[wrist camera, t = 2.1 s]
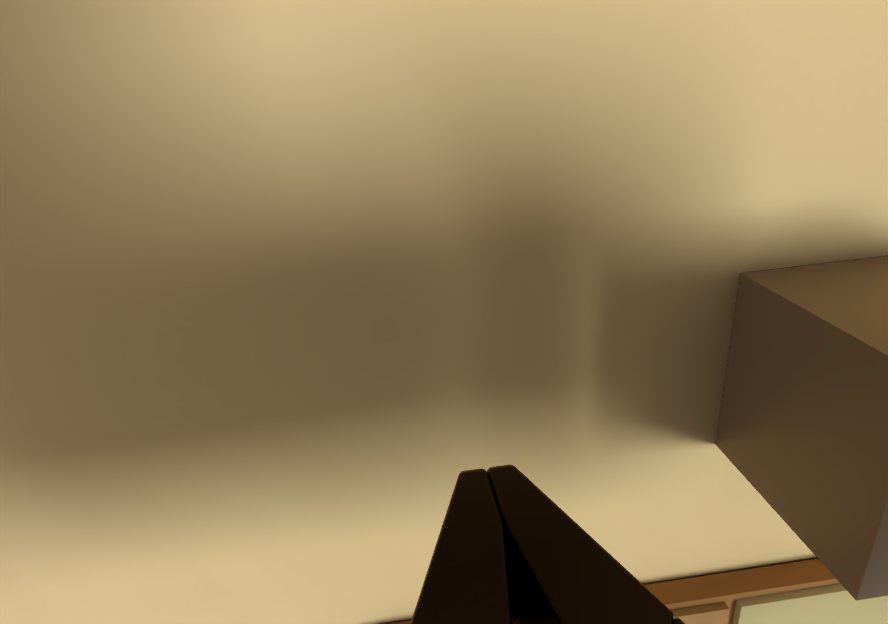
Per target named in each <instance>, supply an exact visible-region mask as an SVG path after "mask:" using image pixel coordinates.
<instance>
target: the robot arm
mask: <svg viewBox="0 0 888 624" xmlns="http://www.w3.org/2000/svg"><path fill="white" fill-rule="evenodd" d="M411 624H685V623H684V622H683V621H682V620H681V619H680V618H674V614H673V612H672V611H671V610H670V609H669V608H667V607H666V606H665V605H664V604H663V603H662V602H661V601H660V600H659V599H658V598H657V597H656V596H654V595H653V594H652V593H651V592H650V591H649V590H648V589H647V588H646V587H645V586H644V585H643V584H641V583H640V582H639V581H638V580H637V579H636V578H635V577H634V576H633V575H632V574H631V573H630V572H629V571H627V570H626V569H625V568H624V567H623V566H622V565H621V564H620V563H619V562H618V561H617V560H616V559H614V558H613V557H612V556H611V555H610V554H609V553H608V552H607V551H606V550H605V549H604V548H603V547H601V546H600V545H599V544H598V543H597V542H596V541H595V540H594V539H593V538H592V537H591V536H590V535H588V534H587V533H586V532H585V531H584V530H583V529H582V528H581V527H580V526H579V525H578V524H577V523H575V522H574V521H573V520H572V519H571V518H570V517H569V516H568V515H567V514H566V513H565V512H564V511H562V510H561V509H560V508H559V507H558V506H557V505H556V504H555V503H554V502H553V501H552V500H551V499H549V498H548V497H547V496H546V495H545V494H544V493H543V492H542V491H541V490H540V489H539V488H538V487H536V486H535V485H534V484H533V483H532V482H531V481H530V480H529V479H528V478H527V477H526V476H525V475H523V474H522V473H521V472H520V471H519V470H518V469H517V468H516V467H515V466H513V465H504V466H496V467H490V468H489V469H488V471H487V472H486V470H485V469H475V470H467V471H462V472H461V473H460V474H459V476H458V479H457V482H456V485H455V488H454V491H453V494H452V497H451V501H450V504H449V507H448V510H447V513H446V516H445V519H444V522H443V525H442V528H441V531H440V534H439V537H438V541H437V544H436V547H435V550H434V553H433V556H432V559H431V562H430V565H429V568H428V571H427V574H426V577H425V581H424V584H423V587H422V590H421V593H420V596H419V599H418V602H417V605H416V608H415V611H414V614H413V617H412V621H411Z"/></svg>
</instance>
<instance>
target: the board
mask: <svg viewBox="0 0 888 624" xmlns="http://www.w3.org/2000/svg"><path fill="white" fill-rule="evenodd" d="M644 586H645V587H646V588H647V589H648V590H649V591H650V592H651V593H652V594H653V595H654V596H656V597H657V598H658V599H659V600H660V601H661V602H662V603H663V604H664V605H665V606H666V607H667V608H669V609H670V610H671V611H672V612H673V614H674V618H680V619H681V620H682V621H683V622H684V623H685V624H888V596H882V597H876V598H870V599H863V600H857V601H856V600H855V599H854V598H853V597H852V596H851V595H850V593H849V592H848V591H847V590H846V589H845V588H844V587H843V586H842V585H841V583H840V582H839V581H838V580H837V579H836V578H835V577H834V576H833V574H832V573H831V572H830V571H829V570H828V569H827V568H826V567H825V566H824V564H823V563H822V562H821V561H820V560H819V559H812V560H805V561H799V562H792V563H786V564H779V565H772V566H766V567H759V568H753V569H746V570H740V571H733V572H726V573H720V574H713V575H707V576H700V577H693V578H687V579H680V580H674V581H667V582H660V583H654V584H647V585H644ZM411 621H412V620H410V621H404V622H397V623H391V624H411Z"/></svg>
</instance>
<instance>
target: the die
mask: <svg viewBox="0 0 888 624" xmlns="http://www.w3.org/2000/svg"><path fill="white" fill-rule="evenodd" d="M716 445H717V446H718V448H719V449H720V450H721V451H722V452H723V453H724V454H725V455H726V457H727V458H728V459H729V460H730V461H731V462H732V463H733V464H734V465H735V467H736V468H737V469H738V470H739V471H740V472H741V473H742V474H743V475H744V477H745V478H746V479H747V480H748V481H749V482H750V483H751V484H752V485H753V487H754V488H755V489H756V490H757V491H758V492H759V493H760V494H761V495H762V497H763V498H764V499H765V500H766V501H767V502H768V503H769V504H770V505H771V507H772V508H773V509H774V510H775V511H776V512H777V513H778V514H779V516H780V517H781V518H782V519H783V520H784V521H785V522H786V523H787V524H788V526H789V527H790V528H791V529H792V530H793V531H794V532H795V533H796V534H797V536H798V537H799V538H800V539H801V540H802V541H803V542H804V543H805V544H806V546H807V547H808V548H809V549H810V550H811V551H812V552H813V553H814V554H815V556H816V557H817V558H818V559H819V560H820V561H821V562H822V563H823V564H824V566H825V567H826V568H827V569H828V570H829V571H830V572H831V573H832V574H833V576H834V577H835V578H836V579H837V580H838V581H839V582H840V583H841V585H842V586H843V587H844V588H845V589H846V590H847V591H848V592H849V593H850V595H851V596H852V597H853V598H854V599H855V600H856V601H857V600H863V599H870V598H876V597H882V596H888V256H881V257H873V258H864V259H856V260H847V261H839V262H830V263H821V264H813V265H804V266H796V267H787V268H779V269H770V270H761V271H753V272H744V273H740V277H739V284H738V291H737V298H736V305H735V312H734V319H733V326H732V332H731V339H730V346H729V353H728V360H727V367H726V374H725V381H724V388H723V395H722V402H721V409H720V416H719V423H718V430H717V437H716Z"/></svg>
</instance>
